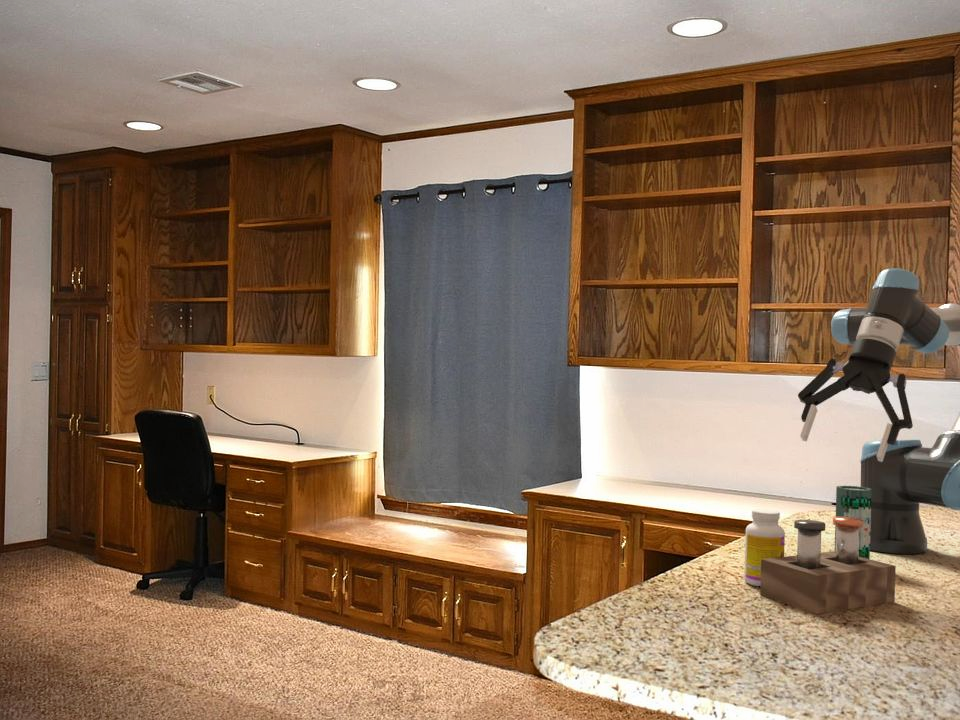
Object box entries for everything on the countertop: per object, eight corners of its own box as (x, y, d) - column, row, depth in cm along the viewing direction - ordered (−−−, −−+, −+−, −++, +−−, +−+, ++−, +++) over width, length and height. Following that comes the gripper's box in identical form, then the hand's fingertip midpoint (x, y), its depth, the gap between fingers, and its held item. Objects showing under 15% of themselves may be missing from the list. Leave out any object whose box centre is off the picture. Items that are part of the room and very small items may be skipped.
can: (852, 569, 172) (854, 490, 172) (828, 562, 178) (830, 486, 178) (875, 567, 175) (877, 489, 175) (851, 560, 180) (853, 485, 180)
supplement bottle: (785, 589, 156) (787, 515, 155) (745, 586, 157) (747, 513, 157) (780, 580, 162) (782, 509, 162) (742, 577, 163) (744, 506, 163)
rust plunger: (844, 567, 156) (846, 515, 156) (868, 574, 152) (869, 520, 151) (825, 570, 154) (826, 517, 154) (848, 576, 149) (849, 522, 149)
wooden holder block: (835, 584, 160) (836, 550, 160) (894, 602, 149) (895, 565, 149) (760, 594, 152) (761, 559, 152) (817, 614, 141) (818, 575, 141)
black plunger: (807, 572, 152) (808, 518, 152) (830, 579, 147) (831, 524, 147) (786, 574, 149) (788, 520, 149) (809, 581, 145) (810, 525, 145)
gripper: (806, 324, 174) (769, 423, 169) (947, 352, 160) (911, 461, 155) (812, 340, 180) (777, 437, 175) (948, 368, 166) (914, 474, 161)
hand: (840, 448), depth 165 cm, fingers open, 13 cm apart
